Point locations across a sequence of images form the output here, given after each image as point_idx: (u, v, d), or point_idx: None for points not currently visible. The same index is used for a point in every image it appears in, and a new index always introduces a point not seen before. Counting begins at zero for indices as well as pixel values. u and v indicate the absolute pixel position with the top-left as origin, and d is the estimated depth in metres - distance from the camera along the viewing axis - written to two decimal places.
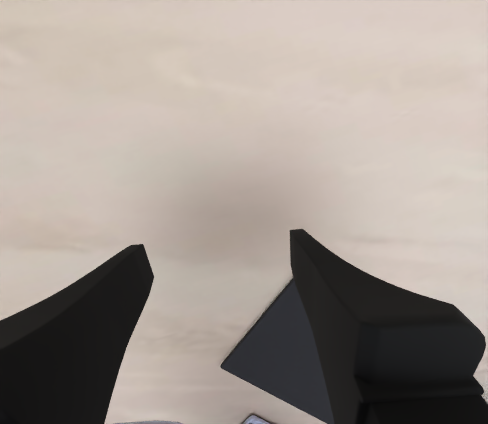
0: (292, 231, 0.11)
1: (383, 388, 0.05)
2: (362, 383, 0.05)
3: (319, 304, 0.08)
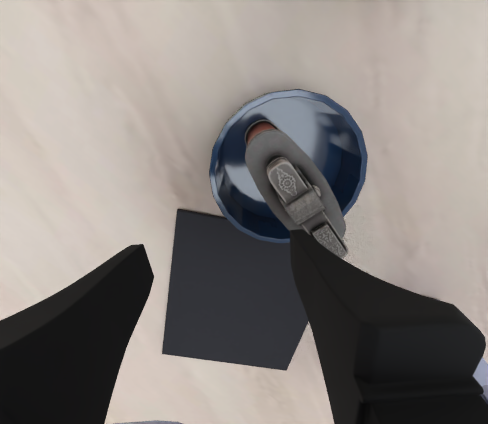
0: (292, 231, 0.11)
1: (383, 388, 0.05)
2: (362, 383, 0.05)
3: (319, 304, 0.08)
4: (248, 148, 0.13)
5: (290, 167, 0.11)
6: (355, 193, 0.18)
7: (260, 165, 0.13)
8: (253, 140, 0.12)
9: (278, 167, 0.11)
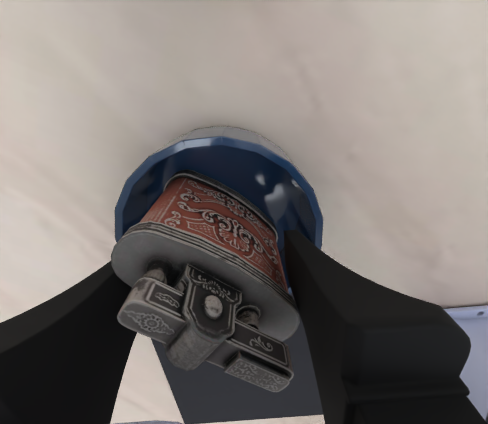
0: (286, 232, 0.11)
1: (370, 389, 0.05)
2: (349, 384, 0.05)
3: (310, 305, 0.08)
4: (113, 261, 0.09)
5: (141, 306, 0.07)
6: (316, 236, 0.13)
7: (140, 276, 0.09)
8: (113, 251, 0.09)
9: (125, 310, 0.07)
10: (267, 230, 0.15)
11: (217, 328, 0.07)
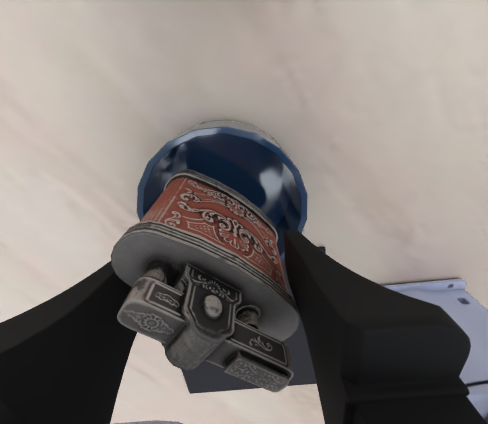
0: (286, 232, 0.11)
1: (369, 389, 0.05)
2: (349, 384, 0.05)
3: (310, 305, 0.08)
4: (113, 261, 0.09)
5: (141, 305, 0.07)
6: (302, 210, 0.16)
7: (140, 276, 0.09)
8: (113, 251, 0.09)
9: (125, 310, 0.07)
10: (267, 230, 0.15)
11: (217, 328, 0.07)
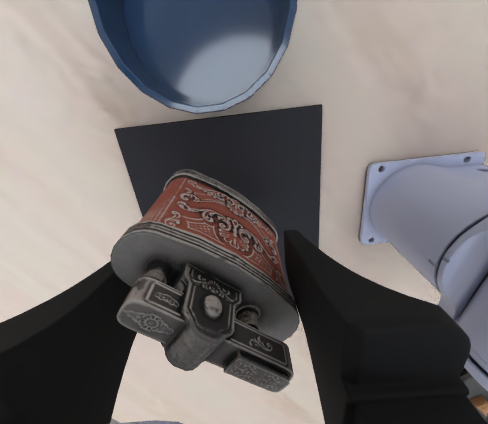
0: (286, 232, 0.11)
1: (369, 389, 0.05)
2: (349, 384, 0.05)
3: (310, 305, 0.08)
4: (113, 261, 0.09)
5: (141, 305, 0.07)
6: None
7: (140, 276, 0.09)
8: (113, 251, 0.09)
9: (125, 309, 0.07)
10: (267, 230, 0.15)
11: (217, 328, 0.07)
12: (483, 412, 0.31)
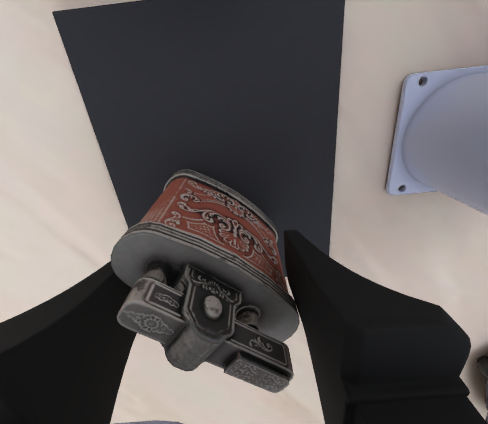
0: (286, 232, 0.11)
1: (369, 389, 0.05)
2: (349, 384, 0.05)
3: (310, 305, 0.08)
4: (113, 262, 0.09)
5: (141, 306, 0.07)
6: None
7: (140, 276, 0.09)
8: (113, 251, 0.09)
9: (125, 310, 0.07)
10: (267, 231, 0.15)
11: (217, 328, 0.07)
12: None
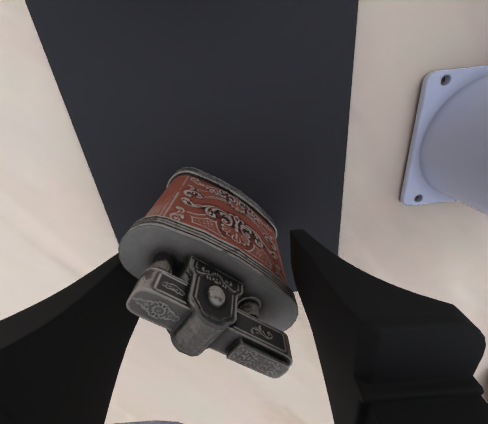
0: (292, 231, 0.11)
1: (383, 388, 0.05)
2: (362, 383, 0.05)
3: (319, 304, 0.08)
4: (120, 253, 0.09)
5: (149, 293, 0.07)
6: None
7: (146, 267, 0.09)
8: (121, 243, 0.09)
9: (134, 297, 0.07)
10: (267, 227, 0.16)
11: (220, 316, 0.08)
12: None
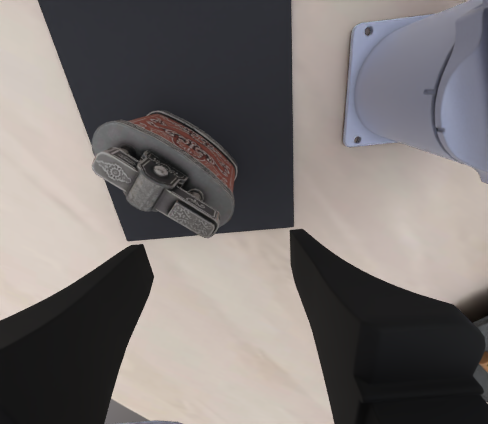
0: (292, 231, 0.11)
1: (383, 388, 0.05)
2: (362, 383, 0.05)
3: (319, 304, 0.08)
4: (93, 148, 0.12)
5: (107, 156, 0.10)
6: None
7: None
8: (93, 138, 0.12)
9: (97, 159, 0.10)
10: (226, 161, 0.18)
11: (160, 180, 0.11)
12: None
